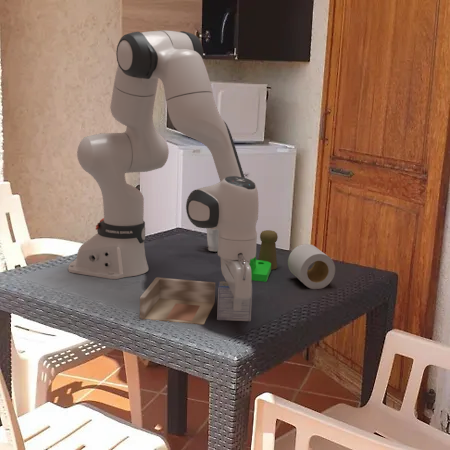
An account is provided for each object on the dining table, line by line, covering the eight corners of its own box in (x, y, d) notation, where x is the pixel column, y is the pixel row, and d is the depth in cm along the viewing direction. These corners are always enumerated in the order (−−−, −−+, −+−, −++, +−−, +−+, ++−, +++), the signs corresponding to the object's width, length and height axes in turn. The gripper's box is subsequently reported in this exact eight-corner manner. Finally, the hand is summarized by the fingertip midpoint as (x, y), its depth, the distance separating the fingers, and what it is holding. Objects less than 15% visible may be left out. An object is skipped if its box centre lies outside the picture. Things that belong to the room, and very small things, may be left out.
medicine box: (250, 316, 159) (252, 282, 157) (250, 323, 155) (252, 288, 153) (217, 315, 159) (218, 280, 157) (216, 322, 155) (218, 286, 153)
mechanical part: (266, 281, 185) (267, 254, 183) (245, 279, 186) (246, 252, 184) (272, 267, 196) (273, 241, 194) (252, 265, 197) (253, 240, 195)
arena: (139, 321, 154) (140, 297, 152) (155, 299, 168) (156, 277, 167) (203, 327, 152) (204, 303, 150) (214, 304, 166) (215, 282, 165)
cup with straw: (200, 252, 211) (203, 190, 206) (202, 244, 219) (205, 185, 215) (227, 253, 210) (230, 191, 206) (228, 246, 219) (231, 186, 214)
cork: (255, 268, 196) (257, 232, 194) (258, 263, 202) (260, 227, 200) (276, 270, 195) (278, 234, 193) (278, 264, 201) (280, 229, 199)
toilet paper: (286, 278, 189) (289, 244, 187) (319, 276, 191) (322, 243, 189) (299, 290, 180) (301, 254, 177) (333, 288, 182) (336, 253, 180)
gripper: (259, 261, 143) (256, 321, 147) (242, 236, 163) (239, 290, 166) (231, 261, 142) (228, 322, 146) (217, 236, 162) (214, 290, 165)
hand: (234, 304), depth 156 cm, fingers closed on medicine box, 5 cm apart
